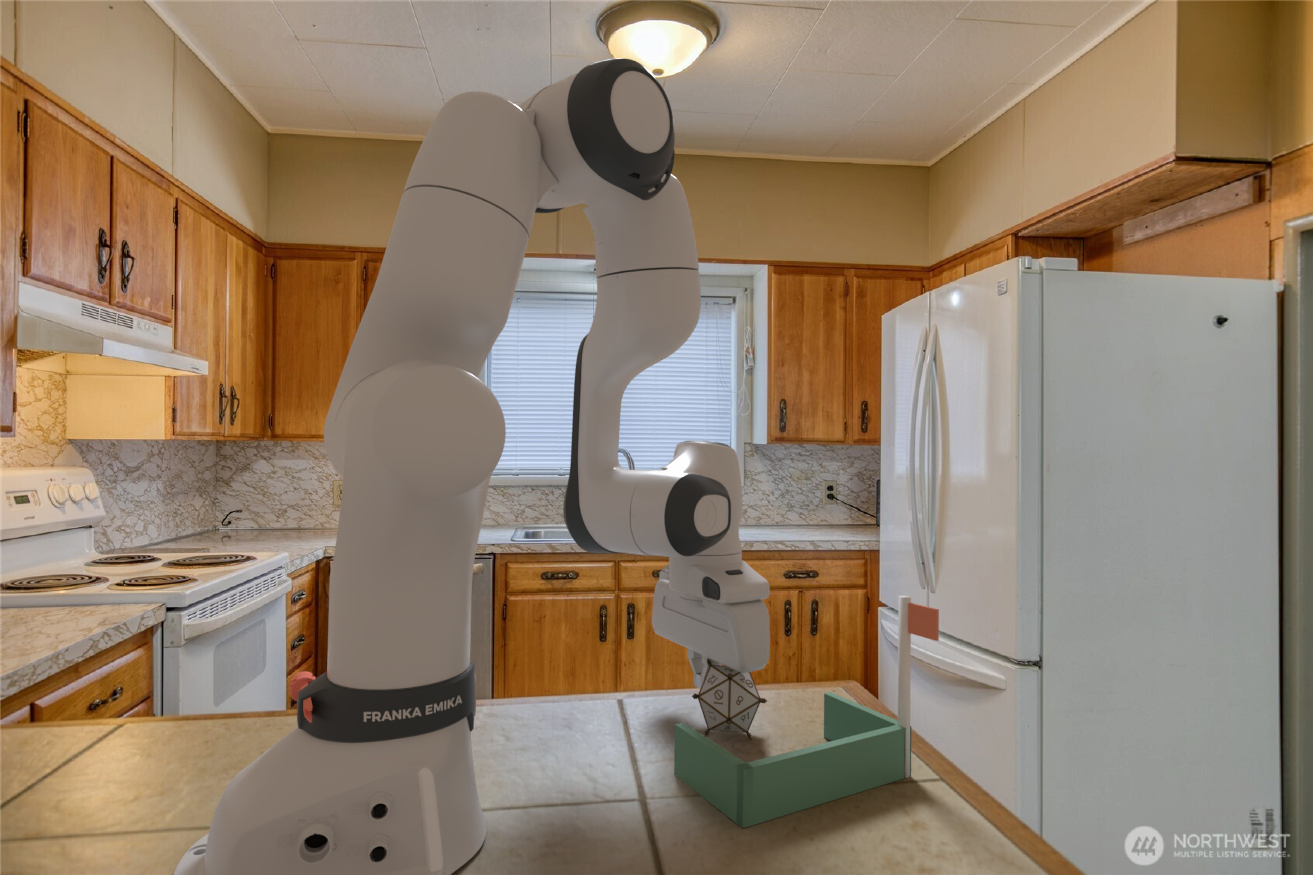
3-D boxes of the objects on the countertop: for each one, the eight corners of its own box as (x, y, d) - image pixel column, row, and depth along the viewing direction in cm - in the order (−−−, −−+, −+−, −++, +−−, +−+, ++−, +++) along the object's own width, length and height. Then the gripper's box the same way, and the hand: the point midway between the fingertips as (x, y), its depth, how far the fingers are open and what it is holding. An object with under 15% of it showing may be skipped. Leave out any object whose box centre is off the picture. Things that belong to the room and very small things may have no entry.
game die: (736, 758, 83) (781, 684, 85) (739, 765, 75) (788, 684, 77) (673, 711, 85) (719, 640, 87) (670, 713, 77) (720, 635, 79)
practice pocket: (768, 848, 57) (770, 627, 58) (674, 774, 70) (676, 594, 71) (941, 790, 68) (941, 603, 68) (830, 735, 81) (832, 578, 81)
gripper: (640, 563, 93) (640, 668, 92) (734, 591, 75) (733, 721, 75) (681, 560, 96) (680, 661, 96) (779, 586, 78) (779, 710, 78)
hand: (704, 688), depth 85 cm, fingers closed
